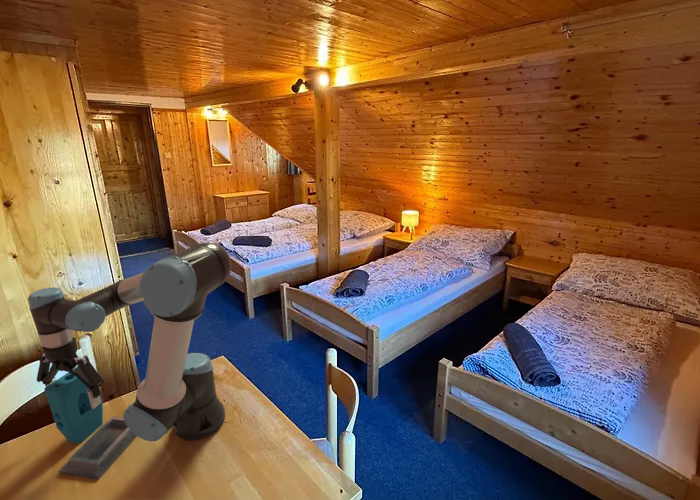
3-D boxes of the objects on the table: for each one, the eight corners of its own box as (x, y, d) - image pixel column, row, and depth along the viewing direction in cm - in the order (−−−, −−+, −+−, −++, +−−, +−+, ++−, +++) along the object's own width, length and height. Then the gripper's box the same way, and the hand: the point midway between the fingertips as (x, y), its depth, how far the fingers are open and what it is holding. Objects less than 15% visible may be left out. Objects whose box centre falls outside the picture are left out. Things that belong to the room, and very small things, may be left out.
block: (74, 448, 108) (56, 392, 102) (61, 445, 109) (42, 389, 103) (108, 418, 119) (94, 366, 113) (95, 416, 121) (81, 363, 114)
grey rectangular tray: (148, 422, 117) (146, 415, 117) (98, 479, 99) (96, 470, 98) (114, 418, 119) (112, 411, 118) (59, 473, 101) (56, 465, 100)
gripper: (108, 337, 106) (123, 398, 113) (33, 330, 110) (51, 389, 116) (86, 353, 99) (103, 416, 106) (7, 344, 103) (28, 407, 109)
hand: (76, 402), depth 111 cm, fingers open, 13 cm apart
